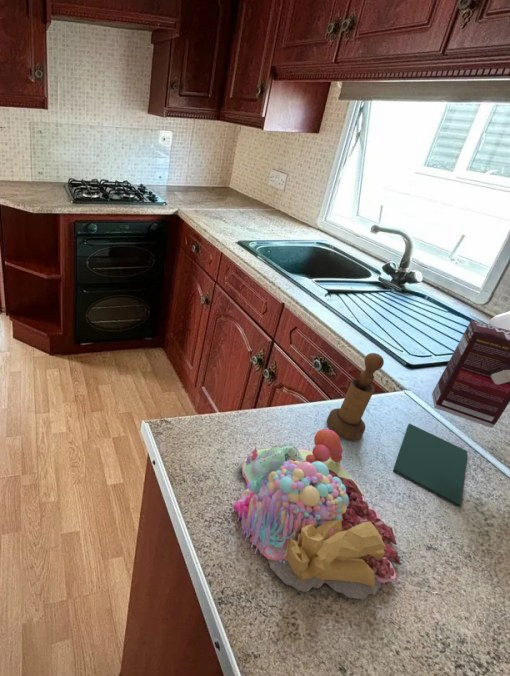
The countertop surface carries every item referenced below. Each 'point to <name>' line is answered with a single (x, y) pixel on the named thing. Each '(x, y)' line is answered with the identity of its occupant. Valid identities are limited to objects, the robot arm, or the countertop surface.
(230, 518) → the countertop surface
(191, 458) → the countertop surface
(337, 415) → the mortar and pestle
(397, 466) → the rubber mat
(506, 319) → the robot arm
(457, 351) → the supplement box
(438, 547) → the countertop surface
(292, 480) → the candy landscape model
